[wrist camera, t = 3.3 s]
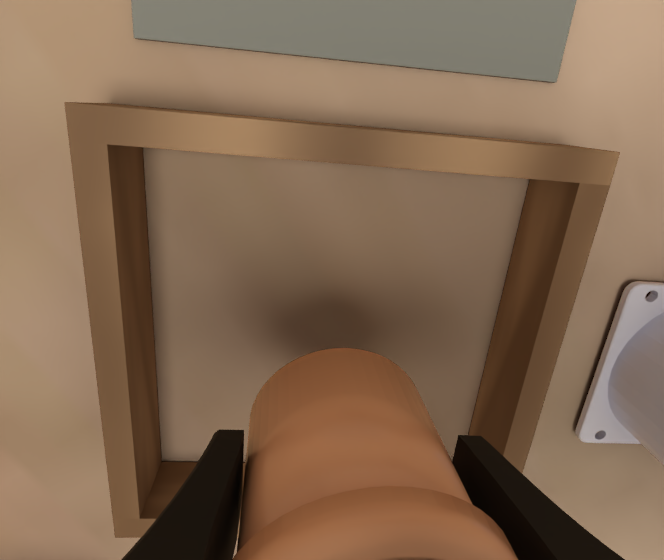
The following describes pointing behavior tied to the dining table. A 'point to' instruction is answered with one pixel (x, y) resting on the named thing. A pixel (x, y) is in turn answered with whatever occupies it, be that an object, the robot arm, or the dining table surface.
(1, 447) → the dining table surface
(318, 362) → the terracotta pot
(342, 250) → the dining table surface
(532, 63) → the rubber mat
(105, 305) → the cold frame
